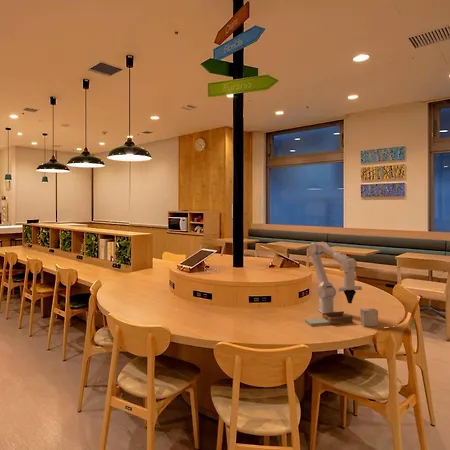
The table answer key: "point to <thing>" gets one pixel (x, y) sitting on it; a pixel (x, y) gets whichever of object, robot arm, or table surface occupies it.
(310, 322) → the cover plate
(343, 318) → the walnut box
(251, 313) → the table surface
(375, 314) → the medicine box
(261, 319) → the table surface
